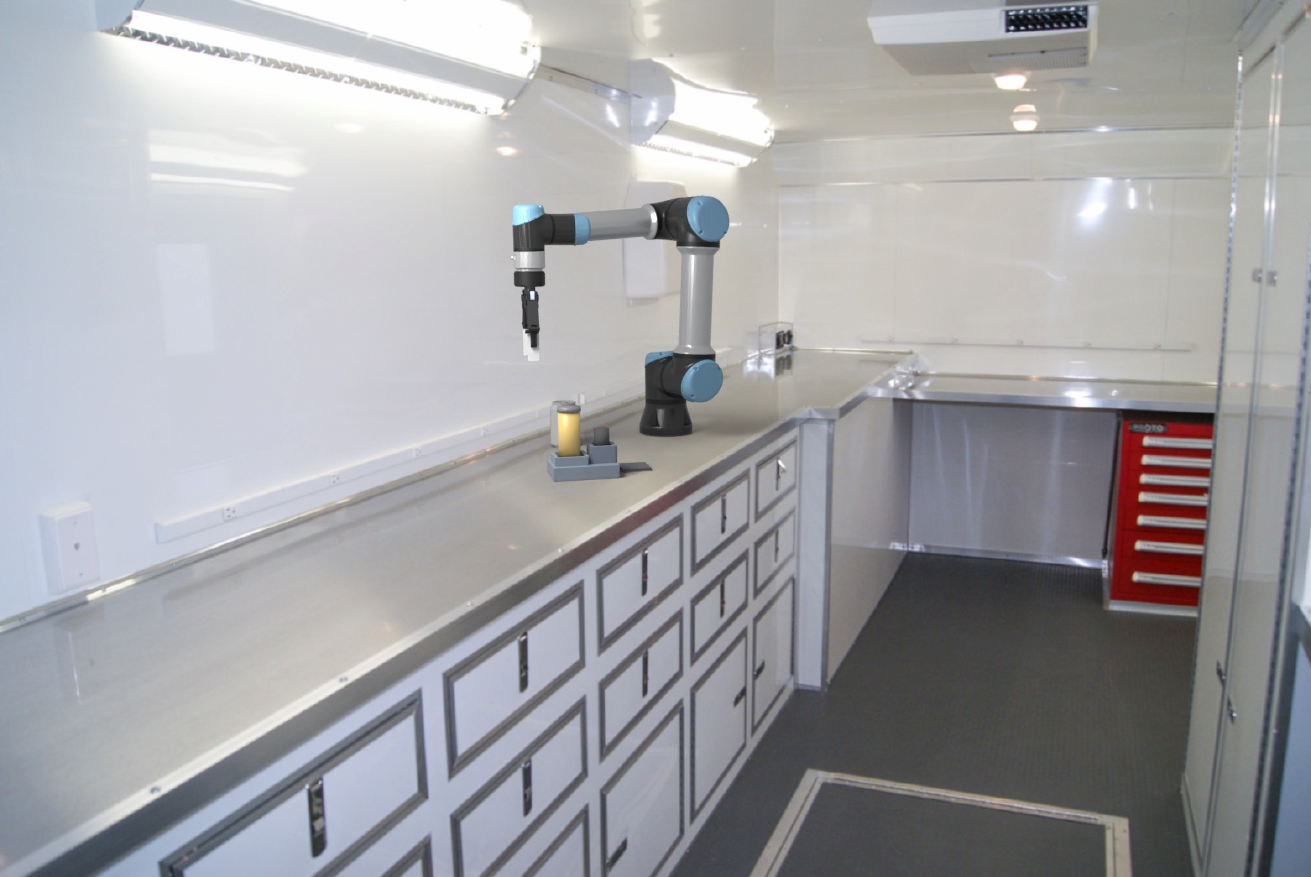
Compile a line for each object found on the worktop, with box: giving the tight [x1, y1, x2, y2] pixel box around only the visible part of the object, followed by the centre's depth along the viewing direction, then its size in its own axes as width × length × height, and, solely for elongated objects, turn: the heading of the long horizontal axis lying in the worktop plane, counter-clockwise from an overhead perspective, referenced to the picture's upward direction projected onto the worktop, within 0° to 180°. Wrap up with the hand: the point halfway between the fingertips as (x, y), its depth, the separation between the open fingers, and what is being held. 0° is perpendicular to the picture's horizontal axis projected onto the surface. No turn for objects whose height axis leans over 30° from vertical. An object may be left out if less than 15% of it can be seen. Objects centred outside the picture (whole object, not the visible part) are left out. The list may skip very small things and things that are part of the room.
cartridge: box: [557, 404, 582, 457], centre depth 236 cm, size 5×5×13 cm
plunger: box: [593, 426, 610, 446], centre depth 239 cm, size 4×4×5 cm
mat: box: [617, 461, 653, 473], centre depth 246 cm, size 7×7×1 cm
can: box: [549, 399, 577, 449], centre depth 273 cm, size 8×8×12 cm
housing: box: [546, 440, 621, 483], centre depth 238 cm, size 15×11×7 cm
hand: (531, 358), depth 253 cm, fingers open, 13 cm apart
